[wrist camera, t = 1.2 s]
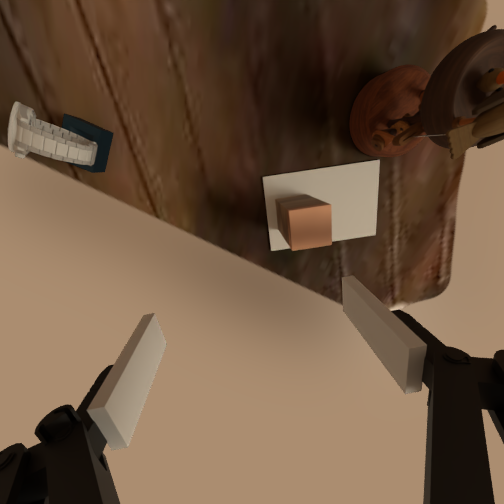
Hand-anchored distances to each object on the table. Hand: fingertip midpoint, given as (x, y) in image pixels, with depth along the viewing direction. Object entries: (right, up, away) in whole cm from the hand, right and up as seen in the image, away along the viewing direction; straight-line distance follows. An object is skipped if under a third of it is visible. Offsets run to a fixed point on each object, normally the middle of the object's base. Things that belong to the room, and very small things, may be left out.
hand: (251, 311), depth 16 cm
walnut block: (+6, +10, +21) cm, 24 cm away
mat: (+11, +11, +21) cm, 27 cm away
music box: (+20, +24, +18) cm, 36 cm away
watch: (-22, +19, +16) cm, 33 cm away
